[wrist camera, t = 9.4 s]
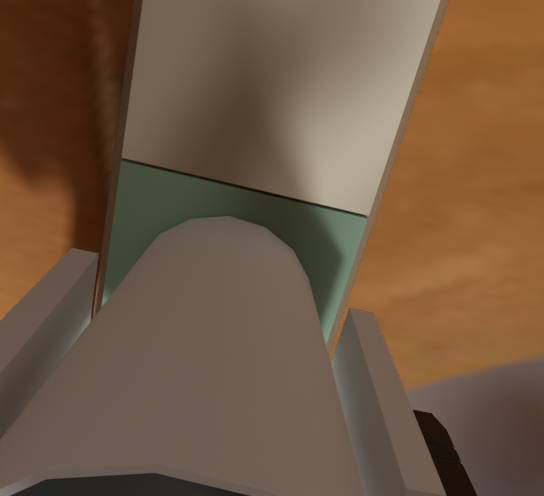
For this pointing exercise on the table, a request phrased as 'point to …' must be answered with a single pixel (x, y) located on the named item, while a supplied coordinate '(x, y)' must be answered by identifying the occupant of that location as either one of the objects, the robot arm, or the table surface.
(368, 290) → the table surface
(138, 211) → the cream and green board
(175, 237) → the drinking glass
